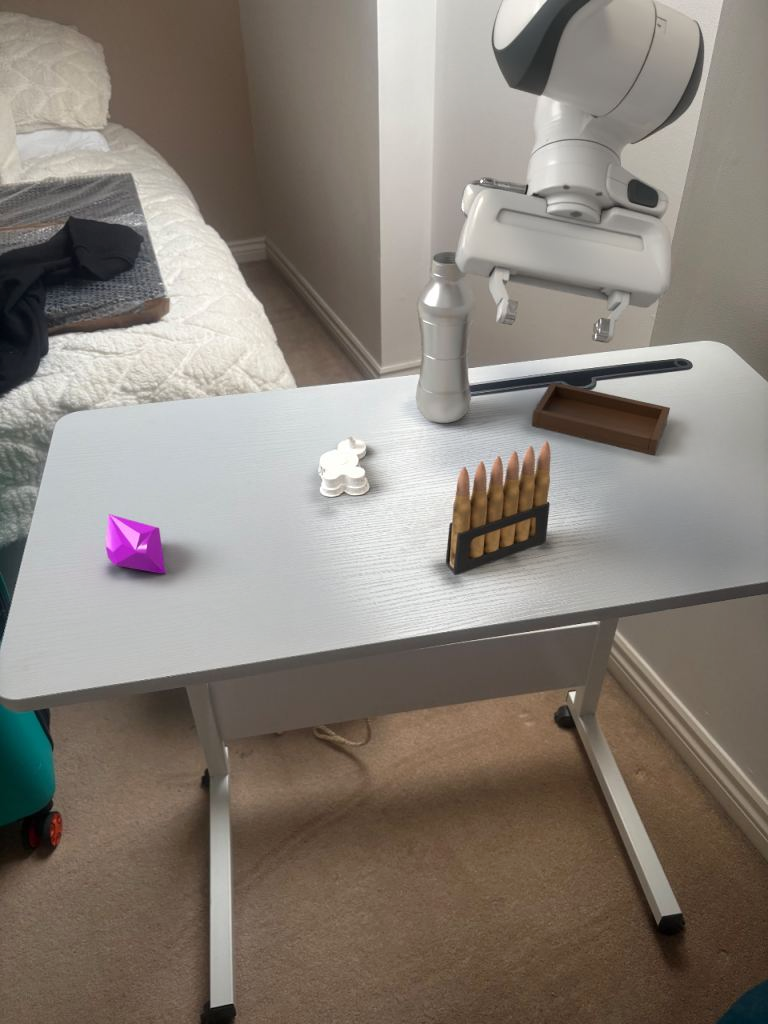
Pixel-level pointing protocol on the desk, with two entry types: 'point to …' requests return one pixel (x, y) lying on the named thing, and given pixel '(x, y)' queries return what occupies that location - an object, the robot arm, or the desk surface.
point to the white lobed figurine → (343, 469)
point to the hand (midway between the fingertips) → (554, 331)
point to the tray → (601, 417)
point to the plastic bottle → (445, 341)
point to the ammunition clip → (499, 511)
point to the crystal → (134, 545)
